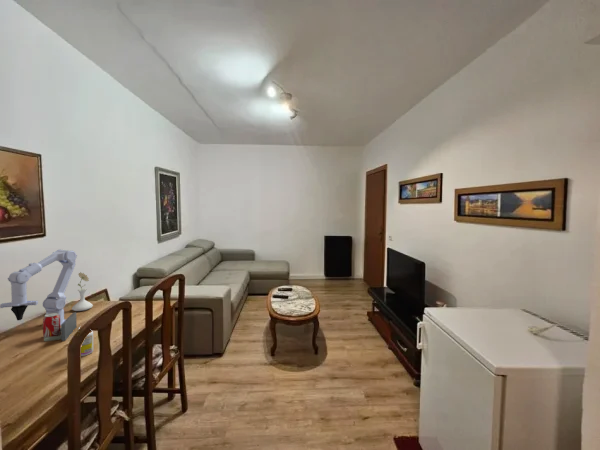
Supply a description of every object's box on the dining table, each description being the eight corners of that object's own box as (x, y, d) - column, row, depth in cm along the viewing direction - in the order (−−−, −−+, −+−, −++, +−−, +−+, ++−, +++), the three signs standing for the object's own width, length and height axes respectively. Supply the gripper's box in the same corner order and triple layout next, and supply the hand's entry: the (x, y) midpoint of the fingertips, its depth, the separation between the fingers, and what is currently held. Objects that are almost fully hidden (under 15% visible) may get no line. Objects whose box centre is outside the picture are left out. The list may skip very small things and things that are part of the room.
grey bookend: (55, 329, 161) (55, 314, 160) (76, 327, 164) (76, 312, 164) (41, 343, 144) (41, 326, 144) (65, 340, 148) (64, 324, 147)
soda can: (48, 340, 148) (48, 317, 147) (39, 338, 150) (39, 315, 149) (63, 334, 155) (63, 313, 154) (54, 332, 157) (54, 311, 156)
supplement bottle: (80, 350, 139) (80, 324, 138) (95, 349, 140) (95, 323, 140) (73, 357, 132) (72, 330, 132) (89, 356, 134) (89, 329, 133)
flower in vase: (94, 309, 193) (94, 273, 192) (73, 313, 185) (73, 275, 183) (89, 304, 202) (89, 270, 200) (69, 308, 193) (69, 272, 192)
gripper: (-4, 297, 143) (-4, 324, 144) (33, 295, 149) (33, 320, 149) (4, 293, 149) (4, 319, 150) (39, 291, 155) (39, 315, 156)
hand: (19, 319), depth 150 cm, fingers closed
